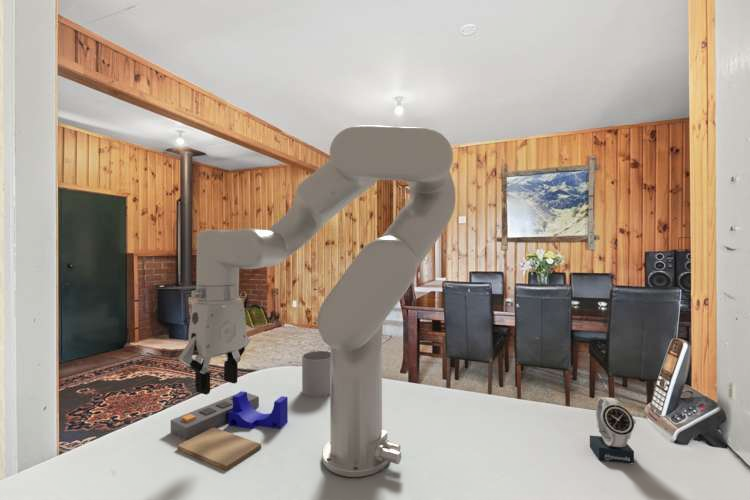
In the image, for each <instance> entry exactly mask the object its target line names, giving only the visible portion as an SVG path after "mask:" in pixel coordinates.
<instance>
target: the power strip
mask: <svg viewBox="0 0 750 500" xmlns="http://www.w3.org/2000/svg"><path fill="white" fill-rule="evenodd" d="M236 394H237V393H236ZM236 394H233V395H230V396H228V397H226V398H223V399H221V400H218V401H216V402H213V403H211V404H207V405H206V406H203V407H200V408H197V409H195V410H193V411H190V412H188V413H185V414H182V415H180V416H178V417H175V418H173V419H171V420H170V434H172V435H174V436H176V437H178V438H180V439H182V440H183V441H187V440H189V439H191V438H193V437H195V436H197V435H199V434H201V433H203V432H205V431H207V430H209V429H211V428H213V427H215V428H217V427H220V426H222V425H224V424H228V413H229V412H230V411H232V410H233V396H234V395H236ZM247 398H248V401H249V403H250V405H251V406H252V407H253V408H254V409H255V410H257V409H258V408H259V407H260V405H259V404H260V396H258V395H254V394H252V393H249V392H247Z"/></svg>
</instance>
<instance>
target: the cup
mask: <svg viewBox="0 0 750 500" xmlns="http://www.w3.org/2000/svg"><path fill="white" fill-rule="evenodd" d="M330 357H331V351H326V350H314V351H309V352H306V353H304V354H303V355H302V357H301V376H302V377H301V379H302V380H301V386H302V388H301V391H302V394H303V396H306V397H308V398H323V397H326V396H330Z"/></svg>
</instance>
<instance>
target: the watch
mask: <svg viewBox="0 0 750 500" xmlns="http://www.w3.org/2000/svg"><path fill="white" fill-rule="evenodd" d="M595 417H596V423H597V424H596V426H597V428H598V432H599V433H600V435H601V436H599V435H589V448H590V449H591V451H592V452H593V454H594V455H595V457H596V459H597V460H598V461H601V462H611V463H619V462H620V463H621V462H622V463H621V464H630V463H634V464H635V451H634V449H632V447H631V446H630V445H629V444H628V442H629V440H630V439H631V436H632V434H633V433H632V432H633V431H634V428H635V425H636V424H637V421H636V419H635V418H633V416H632V414H631V412H630V411H629V410H627V409H626V407H625V406H624V404H623V403H622V402H620V401H619V399H617V398H615V397H606V396H604V397H603V396H600V397H598V398H597V401H596V411H595Z"/></svg>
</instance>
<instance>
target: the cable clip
mask: <svg viewBox="0 0 750 500" xmlns="http://www.w3.org/2000/svg"><path fill="white" fill-rule="evenodd" d="M247 393H248V392H247V391H243V390H242V391H239V392H237V393H236V395H235V394H233V395H234V396H233V395H232V396H233V410H232V411H230V412H229V413H228V422H227V425H228V426H231V427H235V428H242V429H243V428H244V429H247V430H249V429H250V430H253V429H254V428H256V426H257V427H262V428H263V427H264V428H270V429H278V430H281V429H282V428H283V427H284V426H286V425H287V423H288V421H289V419H288V418H289V417H288V411H289V410H288V402H289V401H288V396H283V395H281V396H280V397H279V398H277V399H276V400H274V402H273V408H272V410H271V412H270V413H262V412H260V411H258V410H257V409H254V408H253V407H252V406H251V405H250V403H249V401H248V398H247Z"/></svg>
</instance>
